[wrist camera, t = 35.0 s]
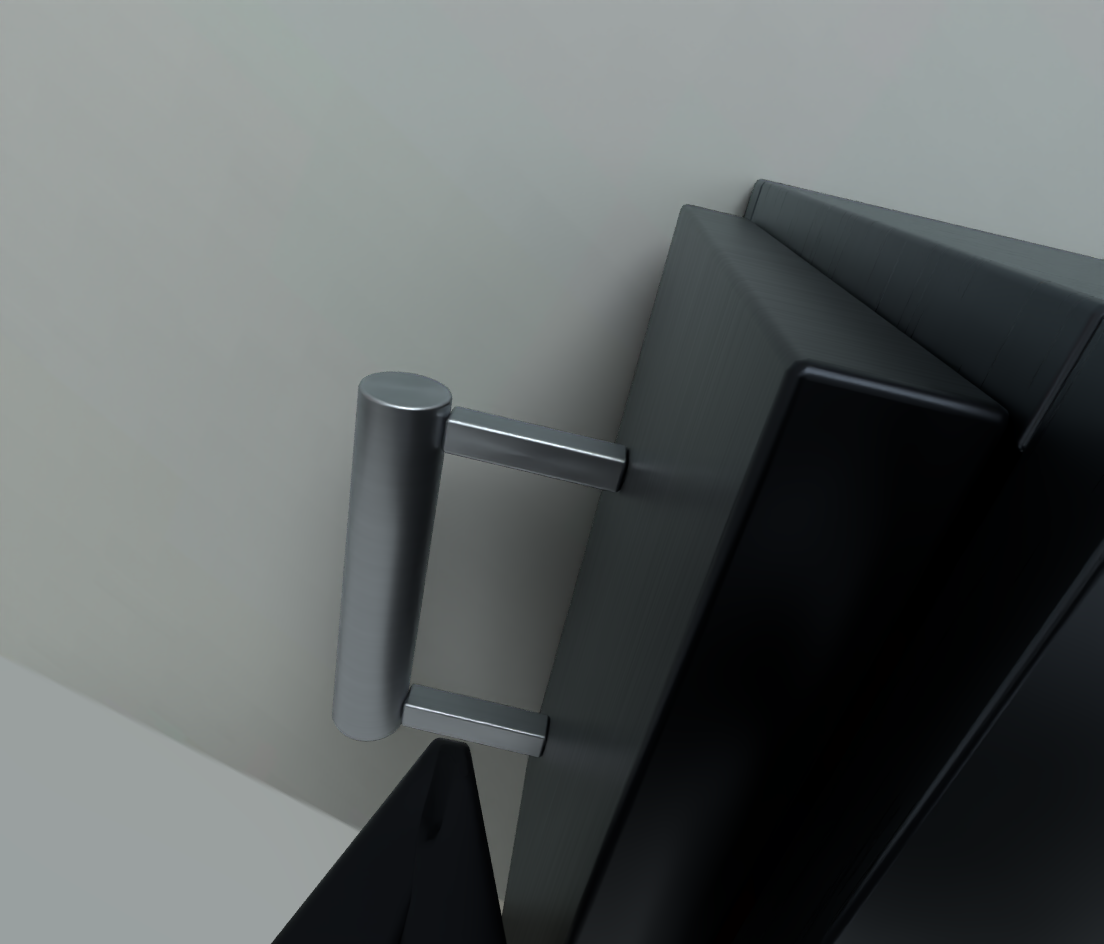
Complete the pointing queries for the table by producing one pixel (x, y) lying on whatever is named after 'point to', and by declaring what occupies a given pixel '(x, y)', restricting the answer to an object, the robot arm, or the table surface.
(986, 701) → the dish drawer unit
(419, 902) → the robot arm
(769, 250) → the rack drawer
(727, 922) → the cup
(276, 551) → the table surface
